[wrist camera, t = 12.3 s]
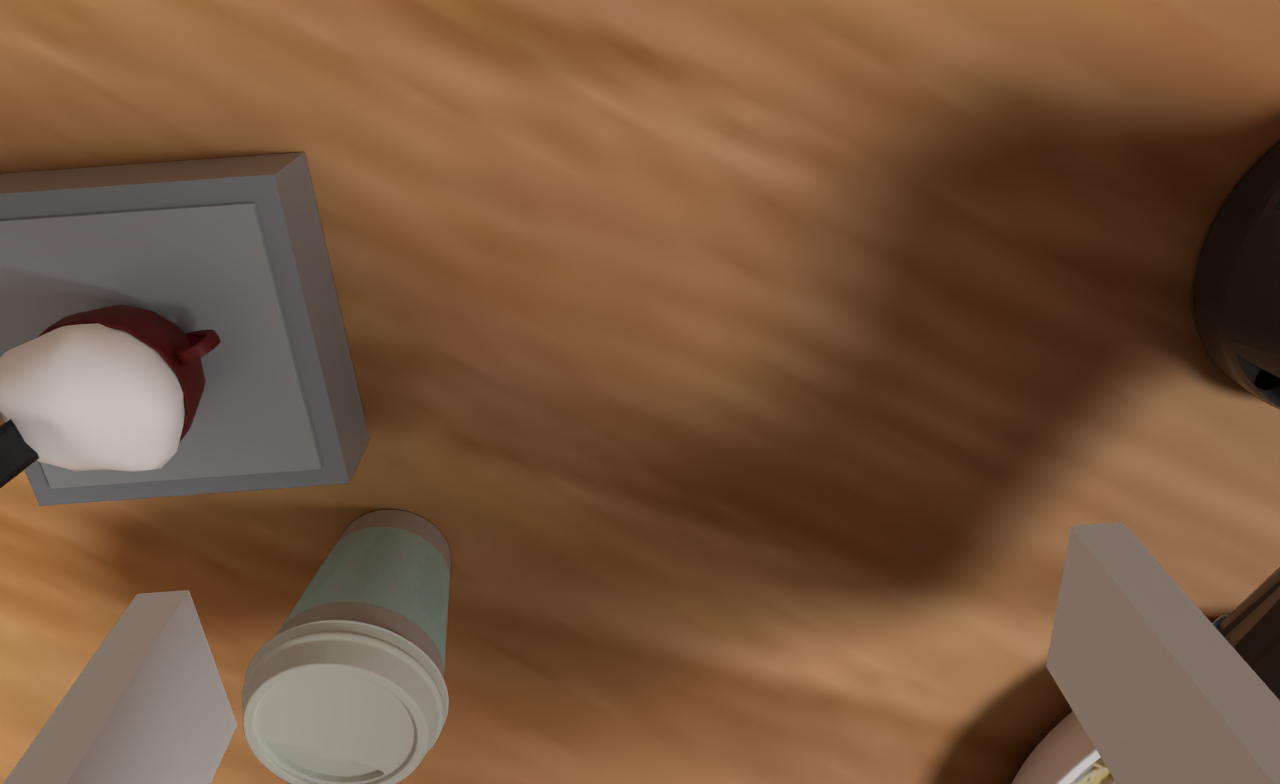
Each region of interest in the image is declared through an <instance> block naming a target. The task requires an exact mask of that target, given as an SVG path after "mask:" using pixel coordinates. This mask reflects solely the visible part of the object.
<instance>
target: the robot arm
mask: <svg viewBox="0 0 1280 784" xmlns="http://www.w3.org/2000/svg"><path fill="white" fill-rule="evenodd" d="M1194 308H1195V317H1196V323H1197V327H1198V331H1199V334H1200V337H1201V340H1202V342H1203V344H1204V346H1205V348H1206V350H1207V352H1208V353H1209V355H1210V357H1211V358H1212V360H1213V361H1214V362H1215V364H1216V365H1217V366H1218V367H1219V368H1220V369H1221V370H1222V371H1223V372H1224V373H1225V374H1226V375H1227V376H1228V377H1229V378H1231V379H1232V380H1234V381H1235V382H1236V383H1238V384H1239V385H1241V386H1242V387H1243V388H1245V389H1246V390H1248V391H1249V392H1250V393H1252V394H1253V395H1255V396H1256V397H1258V398H1259V399H1260V400H1262V401H1264V402H1265V403H1267V404H1269V405H1271V406H1273V407H1275V408H1278V409H1280V142H1279V143H1278V144H1277V145H1276V146H1275V147H1274V148H1272V149H1271V150H1270V151H1269V152H1268V153H1267V154H1266V155H1265V156H1264V157H1263V158H1262V159H1261V160H1260V161H1259V162H1258V163H1257V164H1256V165H1255V166H1254V167H1253V168H1252V169H1251V170H1250V171H1249V172H1248V173H1247V175H1246V176H1245V177H1244V178H1243V180H1242V181H1241V182H1240V183H1239V184H1238V186H1237V187H1236V188H1235V190H1234V191H1233V192H1232V194H1231V195H1230V197H1229V198H1228V200H1227V201H1226V203H1225V204H1224V206H1223V207H1222V209H1221V211H1220V213H1219V214H1218V216H1217V218H1216V220H1215V222H1214V224H1213V226H1212V228H1211V230H1210V232H1209V234H1208V237H1207V239H1206V242H1205V244H1204V247H1203V250H1202V253H1201V256H1200V260H1199V264H1198V268H1197V273H1196V279H1195V288H1194ZM1046 667H1047V669H1048V670H1049V672H1050V674H1051V675H1052V677H1053V679H1054V680H1055V682H1056V684H1057V685H1058V687H1059V689H1060V690H1061V692H1062V693H1063V695H1064V697H1065V698H1066V700H1067V702H1068V703H1069V705H1070V707H1071V708H1072V710H1073V712H1074V713H1075V715H1076V717H1077V718H1078V720H1079V722H1080V723H1081V725H1082V727H1083V728H1084V730H1085V732H1086V733H1087V735H1088V737H1089V738H1090V740H1091V742H1092V743H1093V745H1094V747H1095V748H1096V750H1097V752H1098V753H1099V755H1100V757H1101V758H1102V760H1103V762H1104V763H1105V765H1106V767H1107V768H1108V770H1109V771H1110V773H1111V775H1112V776H1113V778H1114V780H1115V781H1116V783H1117V784H1280V567H1279V568H1278V569H1277V570H1276V571H1275V572H1274V573H1273V574H1272V575H1271V576H1270V577H1268V578H1267V579H1266V580H1265V581H1264V582H1263V583H1262V584H1261V585H1260V586H1259V587H1258V588H1257V589H1256V590H1255V591H1254V592H1253V593H1252V594H1251V595H1250V596H1249V597H1247V598H1246V599H1245V600H1244V601H1243V602H1242V603H1241V604H1240V605H1239V606H1238V607H1237V608H1236V609H1235V610H1234V611H1233V612H1232V613H1231V614H1223V615H1221V616H1220V617H1218V618H1217V619H1216V620H1215V621H1214V622H1213V623H1211V622H1210V621H1209V620H1208V618H1207V617H1206V616H1205V615H1204V614H1203V613H1202V612H1201V610H1200V609H1199V608H1198V607H1197V606H1196V605H1195V604H1194V603H1193V601H1192V600H1191V599H1190V598H1189V597H1188V596H1187V595H1186V593H1185V592H1184V591H1183V590H1182V589H1181V588H1180V587H1179V585H1178V584H1177V583H1176V582H1175V581H1174V580H1173V579H1172V578H1171V576H1170V575H1169V574H1168V573H1167V572H1166V571H1165V570H1164V568H1163V567H1162V566H1161V565H1160V564H1159V563H1158V562H1157V560H1156V559H1155V558H1154V557H1153V556H1152V555H1151V554H1150V553H1149V551H1148V550H1147V549H1146V548H1145V547H1144V546H1143V545H1142V543H1141V542H1140V541H1139V540H1138V539H1137V538H1136V537H1135V535H1134V534H1133V533H1132V532H1131V531H1130V530H1129V529H1128V528H1127V526H1126V525H1125V524H1124V523H1123V522H1120V523H1106V524H1092V525H1078V526H1071V532H1070V537H1069V543H1068V548H1067V554H1066V559H1065V565H1064V570H1063V576H1062V581H1061V587H1060V592H1059V598H1058V603H1057V609H1056V614H1055V620H1054V626H1053V631H1052V637H1051V642H1050V648H1049V653H1048V659H1047V664H1046ZM236 727H237V723H236V720H235V717H234V714H233V712H232V709H231V706H230V703H229V700H228V698H227V695H226V692H225V689H224V687H223V684H222V681H221V678H220V675H219V673H218V670H217V667H216V664H215V661H214V659H213V656H212V653H211V650H210V647H209V645H208V642H207V639H206V636H205V633H204V631H203V628H202V625H201V622H200V620H199V617H198V614H197V611H196V608H195V606H194V603H193V600H192V597H191V594H190V592H189V590H182V591H169V592H155V593H141V594H137V595H136V596H135V598H134V599H133V601H132V602H131V603H130V605H129V606H128V608H127V609H126V610H125V612H124V613H123V615H122V616H121V618H120V619H119V620H118V622H117V623H116V625H115V626H114V627H113V629H112V630H111V632H110V633H109V635H108V636H107V637H106V639H105V640H104V642H103V643H102V644H101V646H100V647H99V649H98V650H97V652H96V653H95V654H94V656H93V657H92V659H91V660H90V661H89V663H88V664H87V666H86V667H85V669H84V670H83V671H82V673H81V674H80V676H79V677H78V678H77V680H76V681H75V683H74V684H73V686H72V687H71V688H70V690H69V691H68V693H67V694H66V695H65V697H64V698H63V700H62V701H61V703H60V704H59V705H58V707H57V708H56V710H55V711H54V712H53V714H52V715H51V717H50V718H49V720H48V721H47V722H46V724H45V725H44V727H43V728H42V729H41V731H40V732H39V734H38V735H37V737H36V738H35V739H34V741H33V742H32V744H31V745H30V747H29V748H28V749H27V751H26V752H25V754H24V755H23V756H22V758H21V759H20V761H19V762H18V764H17V765H16V766H15V768H14V769H13V771H12V772H11V773H10V775H9V776H8V778H7V779H6V781H5V782H4V783H3V784H211V781H212V779H213V777H214V775H215V773H216V771H217V769H218V766H219V764H220V762H221V760H222V758H223V756H224V753H225V751H226V749H227V747H228V745H229V743H230V740H231V738H232V736H233V734H234V732H235V730H236Z"/></svg>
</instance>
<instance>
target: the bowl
mask: <svg viewBox="0 0 1280 784" xmlns="http://www.w3.org/2000/svg"><path fill="white" fill-rule="evenodd" d="M1012 784H1117V783H1116V781H1115V780H1114V778H1113V776H1112V775H1111V773H1110V771H1109V770H1108V768H1107V767H1106V765H1105V763H1104V762H1103V760H1102V758H1101V757H1100V755H1099V753H1098V752H1097V750H1096V748H1095V747H1094V745H1093V743H1092V742H1091V740H1090V738H1089V737H1088V735H1087V733H1086V732H1085V730H1084V728H1083V727H1082V725H1081V723H1080V722H1079V720H1078V718H1077V717H1076V715H1075V713H1074V712H1073V711H1072V712H1071V713H1070V714H1069V715H1068V716H1067V717H1065V718H1064V719H1063V720H1062V721H1061V722H1060V723H1059V724H1058V725H1057V726H1056V727H1054V728H1053V729H1052V730H1051V731H1050V732H1049V733H1048V734H1047V735H1046V737H1045V738H1044V739H1043V740H1042V741H1041V742H1040V743H1039V744H1038V745H1037V747H1036V748H1035V749H1034V750H1033V752H1032V753H1031V754H1030V755H1029V757H1028V758H1027V759H1026V761H1025V762H1024V764H1023V765H1022V767H1021V768H1020V770H1019V772H1018V773H1017V775H1016V776H1015V778H1014V780H1013V782H1012Z"/></svg>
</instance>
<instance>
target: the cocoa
mask: <svg viewBox="0 0 1280 784" xmlns="http://www.w3.org/2000/svg"><path fill="white" fill-rule="evenodd" d="M220 342H221V340H220V338H219V336H218V334H217V333H216V332H215V331H214V330H210V329H209V330H200V331H193V332H190V333H186V334H185V333H184V332H183V331H182V329H180V328H179V327H177V326H176V325H174V324H172V323H171V322H169V321H168V320H166V319H165V318H163V317H161V316H160V315H158V314H157V313H155V312H154V311H150V310H145V309H140V308H136V307H131V306H126V305H122V304H120V305H115V306H110V307H105V308H100V309H95V310H90V311H85V312H80V313H76V314H73V315H70V316H66V317H64V318H62V319H61V320H59V321H57V322H56V323H54V324H52V325H51V326H49V327H48V328H47V329H46V330H45V331H43V332H42V333H41V334H40V335H39V336H38V337H37V338H35V339H33V340H31V341H29V342H26V343H24V344H22V345H20V346H17V347H15V348H13V349H10V350H8V351H6V352H5V353H4V354H3V355H2V356H1V357H0V411H1V412H2V413H3V415H4V416H5V417H6V418H7V422H6V423H4V424H3V425H1V426H0V488H1V487H2V486H4V485H5V484H6V483H8V482H9V481H10V480H11V479H13V478H14V477H15V476H17V475H18V474H19V473H21V472H22V471H23V470H24V469H26V468H27V467H28V466H30V465H31V464H32V463H34V462H35V461H36V460H37V461H39V462H42V463H46V464H50V465H53V466H57V467H61V468H65V469H68V470H72V471H88V470H104V469H107V470H118V471H129V472H138V471H146V470H154V469H161V468H162V467H163V466H164V465H165V464H166V463H167V462H168V461H169V460H170V459H171V457H172V456H173V455H174V454H175V453H176V452H177V449H178V445H179V442H181V440H182V439H183V438H184V436H185V435H186V434H187V432H188V431H189V429H190V428H191V425H192V422H193V420H194V417H195V414H196V411H197V408H198V405H199V402H200V400H201V397H202V394H203V391H204V386H205V377H204V372H203V367H202V362H201V357H203V356H204V355H206V354H208V353H209V352H210V351H212V350H213V349H214V348H216V347H217V346H218V345H219V344H220Z"/></svg>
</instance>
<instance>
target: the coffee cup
mask: <svg viewBox="0 0 1280 784" xmlns="http://www.w3.org/2000/svg"><path fill="white" fill-rule="evenodd" d="M450 568H451V553H450V548H449V545H448V543H447V541H446V539H445V537H444V536H443V534H442V533H441V532H440V531H439V530H438V529H437V528H436V527H435V526H434V525H433V524H432V523H430V522H429V521H427V520H426V519H424V518H422V517H420V516H418V515H415V514H413V513H410V512H406V511H401V510H379V511H374V512H371V513H368V514H365V515H363V516H361V517H359V518H358V519H356V520H355V521H353V522H352V523H351V524H350V525H349V526H348V527H347V529H346V530H345V531H344V533H343V534H342V536H341V537H340V539H339V540H338V542H337V543H336V545H335V546H334V548H333V549H332V551H331V552H330V554H329V555H328V557H327V558H326V560H325V561H324V563H323V564H322V566H321V567H320V569H319V570H318V572H317V573H316V575H315V576H314V578H313V579H312V581H311V582H310V584H309V585H308V587H307V588H306V590H305V591H304V593H303V594H302V596H301V597H300V599H299V601H298V602H297V604H296V605H295V607H294V608H293V610H292V611H291V613H290V614H289V616H288V617H287V619H286V620H285V622H284V623H283V625H282V626H281V628H280V629H279V631H278V632H277V634H276V635H275V637H273V638H272V639H270V640H269V641H268V642H267V643H266V644H264V645H263V646H262V647H261V648H260V649H259V651H258V652H257V653H256V654H255V656H254V657H253V659H252V661H251V662H250V665H249V667H248V670H247V673H246V677H245V683H244V686H243V691H242V706H243V711H244V714H243V730H244V734H245V738H246V740H247V743H248V745H249V747H250V749H251V751H252V752H253V753H254V755H255V756H256V757H257V759H258V760H259V761H260V762H261V763H262V764H263V765H264V766H265V767H266V768H267V769H268V770H270V771H271V772H272V773H274V774H275V775H277V776H278V777H280V778H281V779H283V780H285V781H287V782H289V783H291V784H396V783H398V782H400V781H402V780H403V779H404V778H406V777H407V776H408V775H409V774H411V773H412V772H413V771H414V770H415V769H416V767H417V766H418V765H419V764H420V762H421V760H422V759H423V757H424V755H426V754H427V752H428V751H429V750H430V749H431V748H432V747H433V745H434V744H435V742H436V741H437V739H438V737H439V735H440V732H441V730H442V728H443V726H444V724H445V721H446V718H447V714H448V708H449V697H448V691H447V687H446V684H445V681H444V668H445V652H446V636H447V620H448V604H449V588H450Z"/></svg>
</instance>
